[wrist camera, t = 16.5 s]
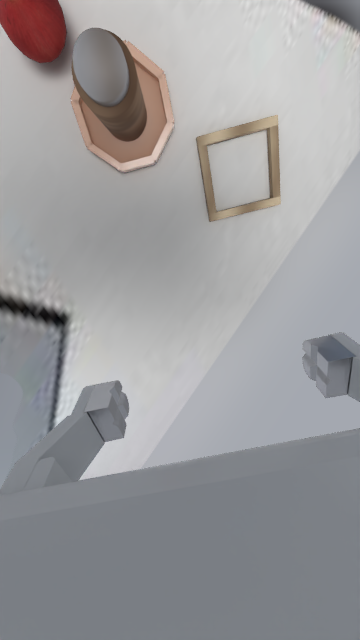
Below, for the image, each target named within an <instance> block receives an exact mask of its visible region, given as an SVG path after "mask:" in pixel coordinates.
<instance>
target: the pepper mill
mask: <svg viewBox="0 0 360 640" xmlns="http://www.w3.org/2000/svg"><path fill="white" fill-rule="evenodd" d="M72 75H73V80H74V84H75V87H76V89H77V91H78V93H79V95H80V97H81V99H82V100H83V101H84V103H85V104H86V105H87V106H88V107H89V108H90V110H91V111H92V112H93V113H94V114H95V115H96V117H97V118H98V119H99V120H100V121H101V122H102V123H103V125H104V126H105V127H106V128H107V129H108V130H109V132H110V133H111V134H112V135H113V136H114V137H116V138H117V139H119V140H121V141H125V142H130V141H134V140H136V139H137V138H139V137H140V136H141V134H142V133H143V131H144V129H145V127H146V123H147V111H146V106H145V103H144V99H143V95H142V91H141V87H140V83H139V79H138V75H137V71H136V67H135V63H134V60H133V57H132V55H131V53H130V51H129V49H128V48H127V46H126V45H125V43H124V42H123V41H122V40H121V39H120V38H119V37H118V36H116V35H115V34H114V33H112V32H110V31H107V30H103V29H100V28H90V29H87V30H85V31H84V32H83V33H82V34H81V35H80V36H79V37H78V39H77V41H76V43H75V45H74V49H73V57H72Z"/></svg>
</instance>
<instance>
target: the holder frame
mask: <svg viewBox="0 0 360 640" xmlns="http://www.w3.org/2000/svg"><path fill="white" fill-rule="evenodd" d="M266 129H267V140H268V160H269V180H270V198H269V199H265V200H261V201H257V202H253V203H249V204H245V205H241V206H237V207H234V208H230V209H226V210H222V211H218V212H216V206H215V199H214V193H213V186H212V179H211V172H210V165H209V158H208V151H207V145H211V144H215V143H218V142H222V141H226V140H229V139H233V138H237V137H240V136H244V135H248V134H251V133H255V132H259V131H262V130H266ZM196 140H197V146H198V152H199V159H200V165H201V171H202V177H203V184H204V190H205V196H206V202H207V208H208V215H209V221H210V222H211V221H215V220H219V219H223V218H227V217H231V216H235V215H239V214H243V213H247V212H251V211H255V210H259V209H263V208H267V207H271V206H275V205H279V204H281V201H280V169H279V138H278V115H275V116H271V117H268V118H264V119H260V120H257V121H253V122H249V123H246V124H242V125H239V126H235V127H231V128H228V129H224V130H220V131H217V132H213V133H210V134H206V135H202V136H199V137H197V138H196Z"/></svg>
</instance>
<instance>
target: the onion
mask: <svg viewBox="0 0 360 640" xmlns="http://www.w3.org/2000/svg"><path fill="white" fill-rule="evenodd" d="M0 23H1V25H2V27H3V29H4V30H5V32H6V34H7V35H8V37H9V38H10V40H11V41H12V42H13V44H14V45H15V46H16V47H17V48H18V49H19V50H20V51H21V52H22V53H23V54H24V55H25V56H27V57H29V58H30V59H33V60H35V61H37V62H39V63H46V62H52V61H53V60H54V59H56V58H57V57H58V56H59V55H60V53H61V51H62V50H63V48H64V46H65V39H66V33H67V32H66V26H65V20H64V15H63V12H62V8H61V6H60V4H59V2H58V0H0Z"/></svg>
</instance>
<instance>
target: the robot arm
mask: <svg viewBox="0 0 360 640" xmlns="http://www.w3.org/2000/svg"><path fill="white" fill-rule="evenodd" d="M303 350H304V351H305V352H306V353H305V355H304V356H303V358H302V360H303V367H304V370H305V372H306V374H307V375H308V377H309V378H310V379H312V380H314V381H316V387H317V388H318V389H319V390H320V392H321V393H322V394H323V395H324V397H325V398H330V397H336V396H341V395H347V394H348V395H349V396H350V397H352V398H354V399H356V400H357V401H359V402H360V345H359V344H358V343H357V342H355V341H354V340H352V339H351V338H350V337H348V336H347V335H345V334H344V333H342V332H339V333H335V334H330V335H328V336H323V337H319V338H314V339H310V340H305V341H304V342H303ZM121 390H122V385H121V383H120V381H118V380H116V381H111V382H106V383H101V384H96V385H91V386H86V387H85V388H83V390H82V392H81V394H80V397H79V399H78V401H77V403H76V405H75V408H74V410H73V412H72V414H71V415H70V416H67V417H66V418H65V419H64V420H63V421H62V422H60V423H59V424H58V425H57V426H56V427H55V428H54V429H53V430H52V431H50V432H49V433H48V434H47V435H46V436H45V437H44V438H43V439H42V440H40V441H39V442H38V443H37V444H36V445H35V446H34V447H33V448H31V449H30V450H29V451H28V452H27V453H26V454H25V455H24V456H23V457H21V458H20V459H19V460H18V461H17V462H16V463H15V464H14V466H13V468H12V469H11V471H10V473H9V475H8V476H7V478H6V480H5V481H4V483H3V485H2V487H1V489H0V640H360V428H359V429H353V430H348V431H342V432H337V433H332V434H326V435H321V436H315V437H310V438H305V439H300V440H294V441H288V442H283V443H278V444H273V445H267V446H262V447H256V448H251V449H245V450H240V451H235V452H229V453H224V454H219V455H213V456H208V457H203V458H197V459H192V460H187V461H181V462H176V463H170V464H166V465H160V466H155V467H149V468H144V469H138V470H133V471H128V472H122V473H117V474H112V475H106V476H101V477H95V478H90V479H85V480H79V479H80V477H81V476H82V474H83V473H84V472H85V470H86V469H87V467H88V466H89V465H90V463H91V462H92V460H93V459H94V458H95V456H96V455H97V453H98V452H99V451H100V449H101V448H102V446H103V445H104V442H107V441H112V440H116V439H121V438H124V434H125V429H126V422H125V419H126V417H127V416H128V413H129V403H128V399H127V396H126V394H124V393H123V392H121ZM78 480H79V481H78Z"/></svg>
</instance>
